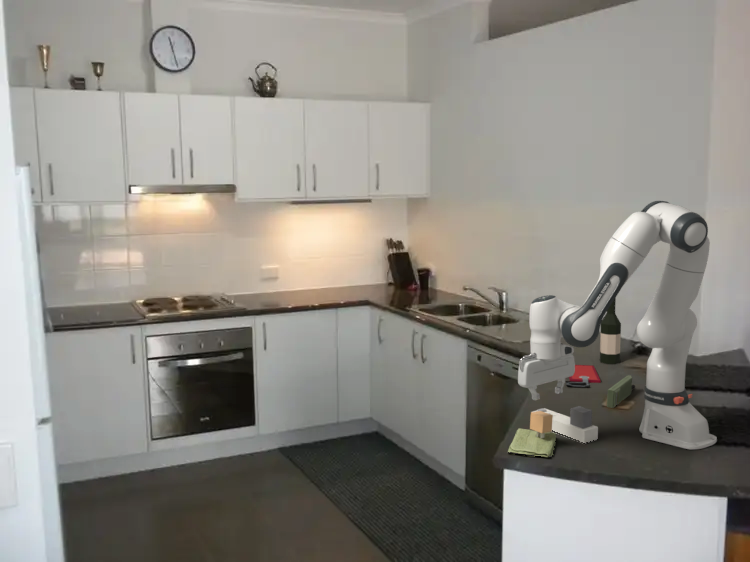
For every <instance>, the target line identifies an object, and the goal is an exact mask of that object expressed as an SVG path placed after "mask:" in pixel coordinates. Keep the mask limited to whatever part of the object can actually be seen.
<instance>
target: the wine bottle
mask: <svg viewBox="0 0 750 562" xmlns="http://www.w3.org/2000/svg"><path fill="white" fill-rule="evenodd" d="M616 298H617V297H616ZM616 298H615V299H614V301H613V302H612V304H611V305H610V307H609V309H608V310H607V312H606V313H605V315H604V317H603V319H602V321H601V325H600V331H599V334H600V339H599V342H600V343H599V361H600V364H601V363H603V364H605V365H618V364H620V362H621V340H622V338H621V337H622V335H621V334H622V333H621V332H622V323H621V321H620V319H619V318H618V316H617V315H616V304H617V303H616V300H617V299H616Z"/></svg>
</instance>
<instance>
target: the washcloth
mask: <svg viewBox="0 0 750 562" xmlns="http://www.w3.org/2000/svg"><path fill="white" fill-rule="evenodd" d="M556 434H557V433H554V432H552V431H551V432H547V433H545V434H544V438H540V436H541V433H540V436H539V437H537V436H536V435H537V431H534V430H532V429H525V428H520V427H519V428H518V429H517V430H516V431H515V435H514V437H513V439H512V441H511V443H510V444H509V447H508V450H507V453H508V452H509V453H510V452H512V453H518V454H526V455H534V456H533V457H535V456H541V458H542V457H543V458H550V457H549V456H552V455H553V456H554V454H553V450H554V451H555V448H554V446H555V447H556V442H555V441H556V438H557V435H556Z"/></svg>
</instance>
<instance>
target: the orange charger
mask: <svg viewBox="0 0 750 562" xmlns="http://www.w3.org/2000/svg"><path fill="white" fill-rule="evenodd" d="M536 411H537V410H536ZM552 418H553V415H551V414H548V413H545V412H542V411H537V412H533V411H530V419H529V421H530V422H529V430H532V431H537V435H536V436H537V437H539V436H540V433H541V436H540V438H544V434H545V433H547V432H551V433H552Z"/></svg>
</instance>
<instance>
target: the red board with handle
mask: <svg viewBox="0 0 750 562" xmlns="http://www.w3.org/2000/svg"><path fill="white" fill-rule="evenodd" d="M568 379H569V380H565V384H566V386H567V387H583V388H585V387H586V388H590V387H591V385H590V383H593V384H594V383H596V384H599V383H601V379H600V376H599V374H598V372H597V370H596V368H595V366H594V365H589V364H575V372H574V375H573V376H571V377H568Z"/></svg>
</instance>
